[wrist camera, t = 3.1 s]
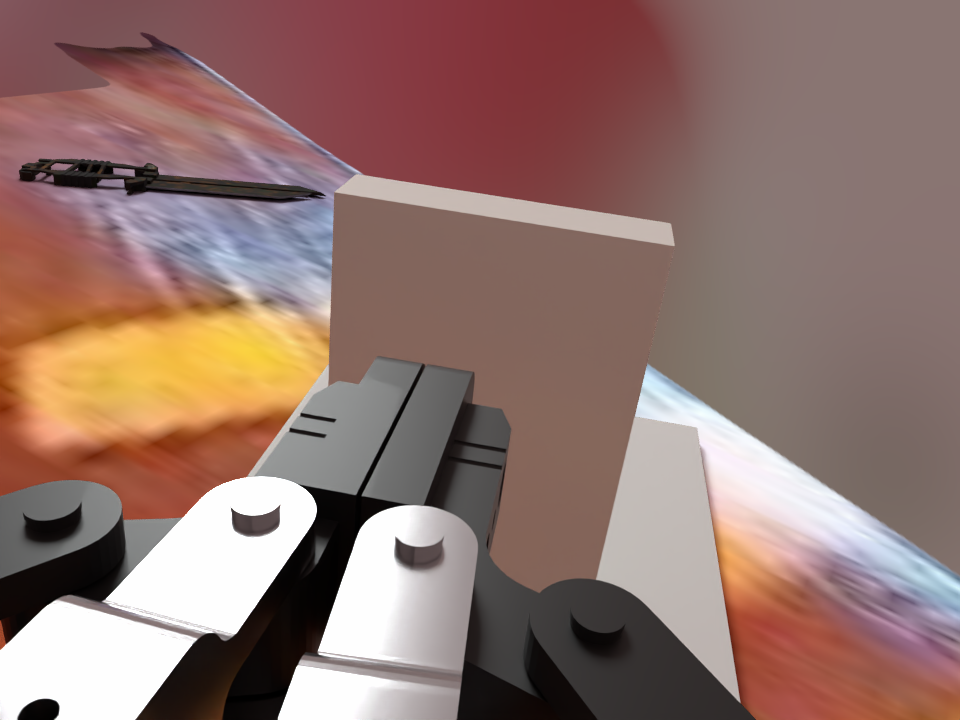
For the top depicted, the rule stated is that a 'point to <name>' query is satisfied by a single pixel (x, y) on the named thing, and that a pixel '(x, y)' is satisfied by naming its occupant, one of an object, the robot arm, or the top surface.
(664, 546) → the mat
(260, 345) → the top surface
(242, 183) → the knife
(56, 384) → the top surface
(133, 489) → the top surface
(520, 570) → the tile
